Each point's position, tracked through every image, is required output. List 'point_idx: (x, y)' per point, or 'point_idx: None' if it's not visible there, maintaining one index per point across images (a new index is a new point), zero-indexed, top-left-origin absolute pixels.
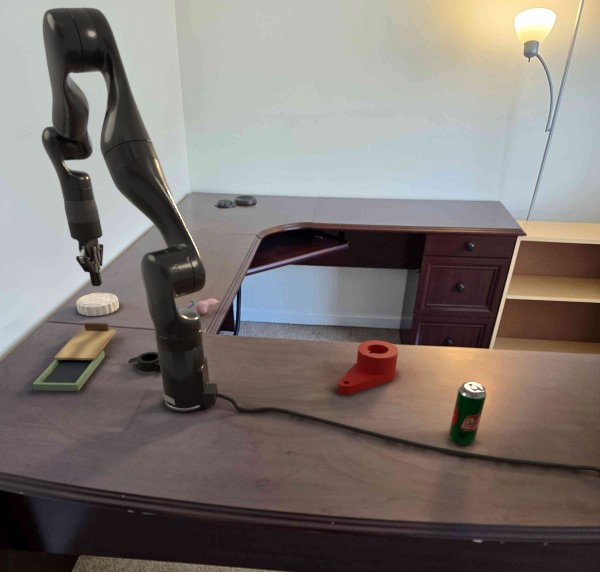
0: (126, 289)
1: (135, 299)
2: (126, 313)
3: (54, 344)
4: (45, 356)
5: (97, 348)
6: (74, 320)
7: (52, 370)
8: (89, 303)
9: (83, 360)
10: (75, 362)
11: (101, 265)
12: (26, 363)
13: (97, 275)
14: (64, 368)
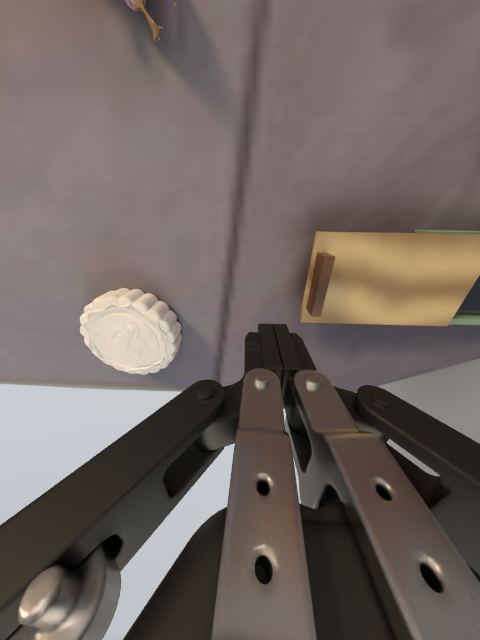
0: (4, 305)
1: (50, 263)
2: (146, 259)
3: (314, 350)
4: (364, 347)
5: (440, 245)
6: (205, 352)
7: (462, 315)
8: (158, 347)
9: None
10: None
11: (212, 384)
12: (384, 364)
13: (297, 359)
14: (477, 294)
